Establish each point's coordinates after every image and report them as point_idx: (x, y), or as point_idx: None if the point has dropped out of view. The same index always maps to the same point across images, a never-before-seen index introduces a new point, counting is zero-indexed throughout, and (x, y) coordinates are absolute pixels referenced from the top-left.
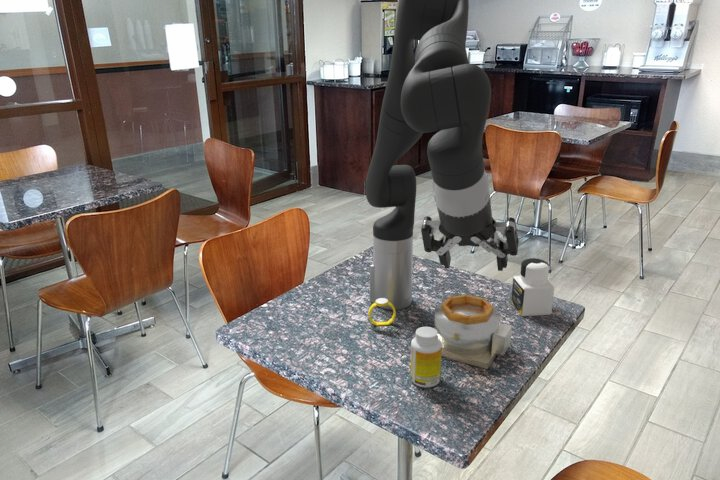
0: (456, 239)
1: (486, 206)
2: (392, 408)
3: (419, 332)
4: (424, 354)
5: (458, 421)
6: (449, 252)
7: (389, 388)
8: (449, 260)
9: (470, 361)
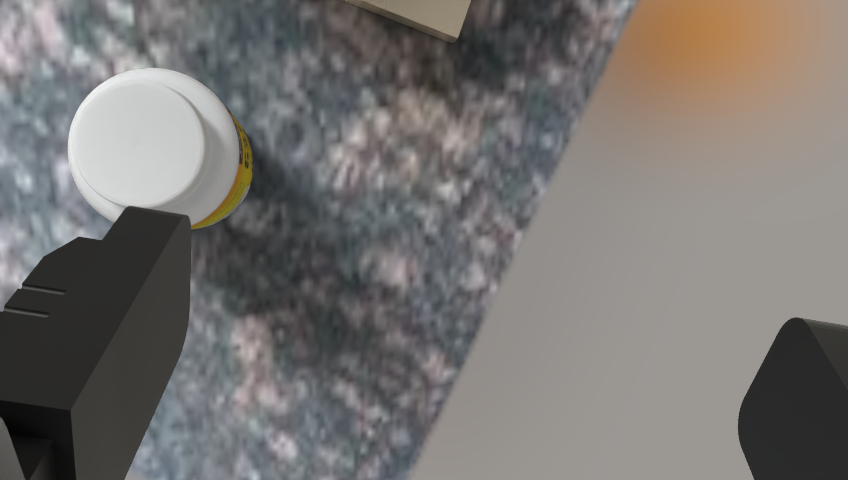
0: None
1: None
2: None
3: (95, 159)
4: None
5: (337, 408)
6: (142, 293)
7: (38, 248)
8: (170, 304)
9: (382, 12)
